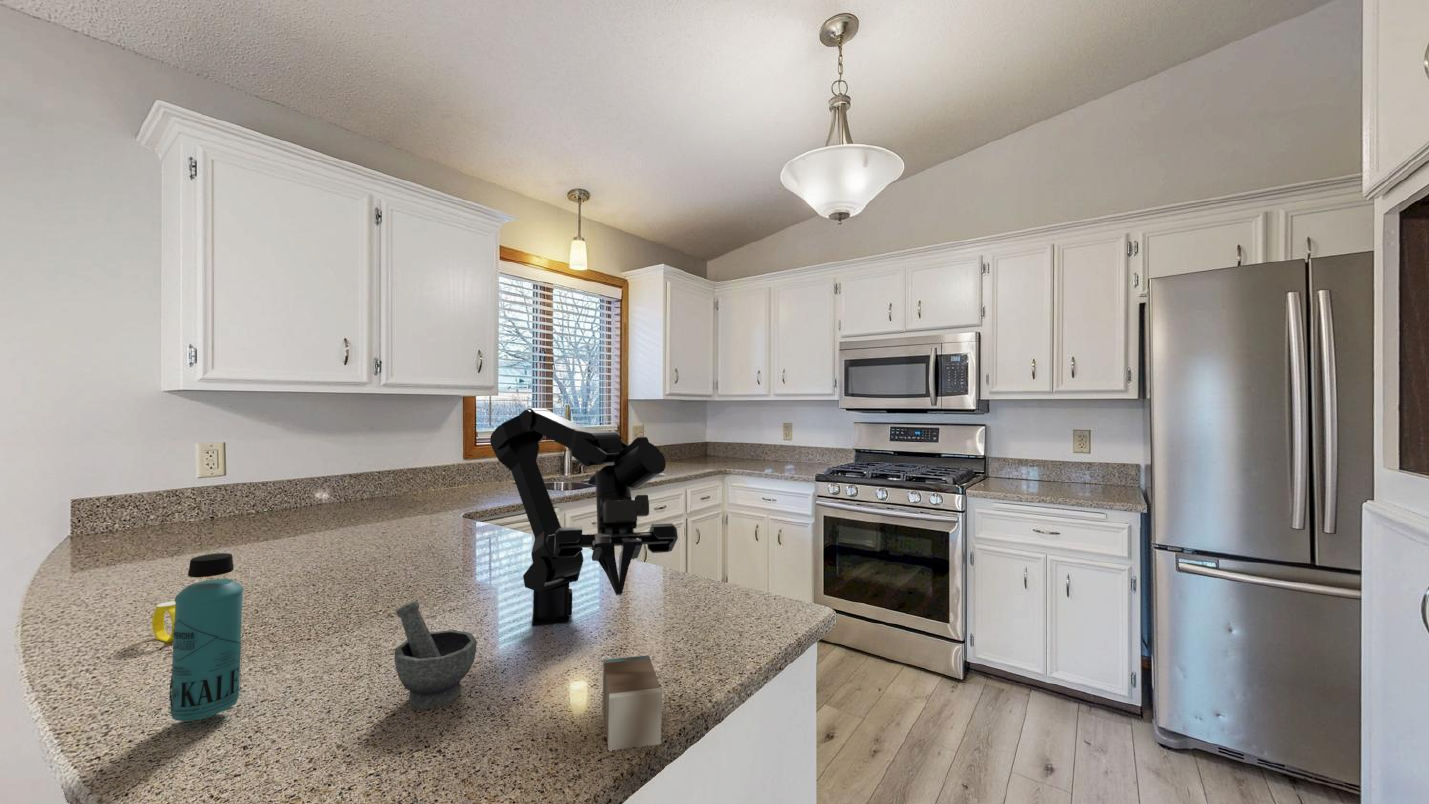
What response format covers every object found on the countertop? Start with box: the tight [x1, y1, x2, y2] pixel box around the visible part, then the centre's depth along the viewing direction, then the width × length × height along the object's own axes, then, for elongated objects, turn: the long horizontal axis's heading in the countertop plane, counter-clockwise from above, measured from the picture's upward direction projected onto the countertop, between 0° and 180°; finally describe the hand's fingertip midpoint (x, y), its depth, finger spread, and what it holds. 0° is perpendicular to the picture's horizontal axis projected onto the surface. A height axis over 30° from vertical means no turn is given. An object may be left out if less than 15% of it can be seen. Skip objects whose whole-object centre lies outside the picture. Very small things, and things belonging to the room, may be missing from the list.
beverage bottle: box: [168, 552, 244, 722], centre depth 68 cm, size 6×7×20 cm
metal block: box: [601, 655, 663, 752], centre depth 68 cm, size 6×6×10 cm
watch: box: [151, 600, 175, 644], centre depth 90 cm, size 6×3×6 cm, turn 69°
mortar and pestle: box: [394, 601, 478, 710], centre depth 74 cm, size 11×9×12 cm
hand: (619, 594), depth 83 cm, fingers closed
